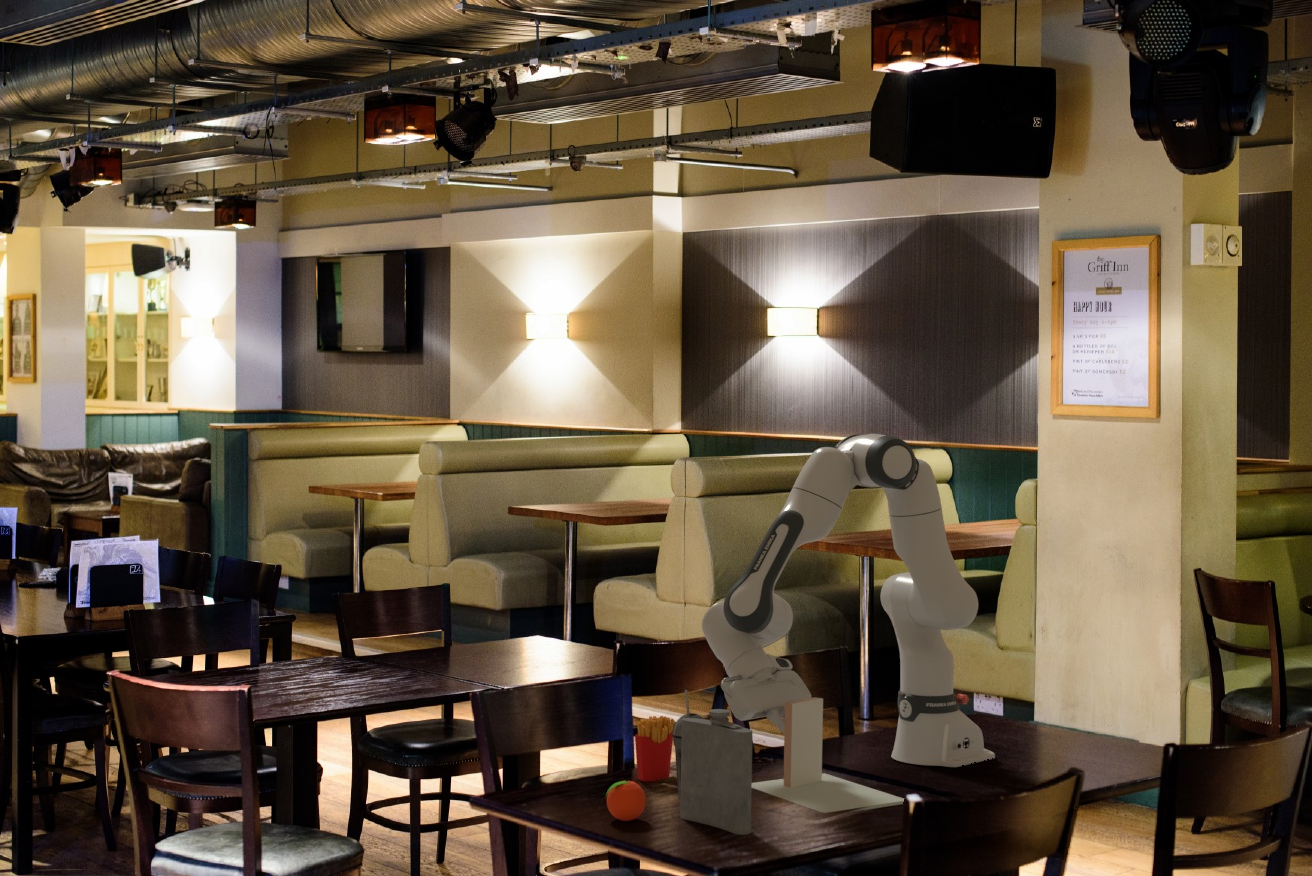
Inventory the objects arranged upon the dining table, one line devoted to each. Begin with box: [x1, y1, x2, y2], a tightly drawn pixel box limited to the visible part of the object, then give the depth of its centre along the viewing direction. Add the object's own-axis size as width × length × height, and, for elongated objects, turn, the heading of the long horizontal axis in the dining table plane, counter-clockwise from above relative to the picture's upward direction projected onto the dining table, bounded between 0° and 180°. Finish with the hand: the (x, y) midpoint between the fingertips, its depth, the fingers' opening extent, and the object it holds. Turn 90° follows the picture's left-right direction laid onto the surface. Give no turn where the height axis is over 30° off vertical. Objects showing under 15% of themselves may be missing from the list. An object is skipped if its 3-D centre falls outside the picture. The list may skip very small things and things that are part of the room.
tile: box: [783, 696, 824, 787], centre depth 298 cm, size 2×9×16 cm, turn 134°
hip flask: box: [679, 708, 753, 836], centre depth 268 cm, size 16×4×20 cm, turn 43°
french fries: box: [634, 715, 676, 782], centre depth 302 cm, size 8×4×12 cm, turn 126°
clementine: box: [604, 779, 647, 822], centre depth 270 cm, size 8×7×7 cm
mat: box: [752, 772, 905, 814], centre depth 291 cm, size 20×25×1 cm
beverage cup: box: [672, 689, 705, 799], centre depth 288 cm, size 7×7×20 cm
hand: (789, 729), depth 301 cm, fingers closed
